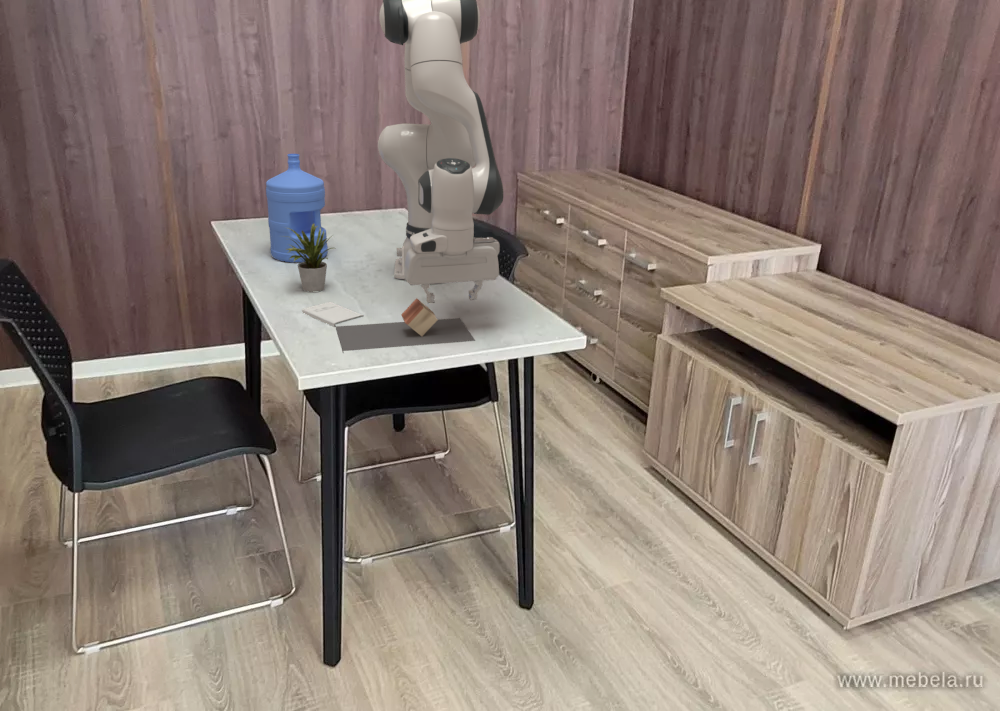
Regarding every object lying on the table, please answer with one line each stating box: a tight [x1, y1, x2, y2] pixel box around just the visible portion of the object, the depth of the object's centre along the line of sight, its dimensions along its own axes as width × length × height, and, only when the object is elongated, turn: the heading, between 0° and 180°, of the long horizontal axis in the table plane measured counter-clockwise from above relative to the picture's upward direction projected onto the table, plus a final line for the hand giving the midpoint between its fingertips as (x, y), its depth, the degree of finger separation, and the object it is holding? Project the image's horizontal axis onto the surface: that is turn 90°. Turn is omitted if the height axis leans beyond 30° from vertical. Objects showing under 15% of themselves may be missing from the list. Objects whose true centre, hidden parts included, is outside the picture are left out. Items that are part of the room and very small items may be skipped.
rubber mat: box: [335, 317, 476, 354], centre depth 177 cm, size 14×28×1 cm, turn 106°
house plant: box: [284, 223, 337, 293], centre depth 202 cm, size 14×14×16 cm
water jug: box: [265, 153, 329, 263], centre depth 225 cm, size 16×16×28 cm
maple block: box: [400, 297, 438, 336], centre depth 177 cm, size 5×5×5 cm
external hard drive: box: [301, 301, 365, 328], centre depth 187 cm, size 2×8×12 cm
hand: (451, 300), depth 178 cm, fingers open, 8 cm apart
